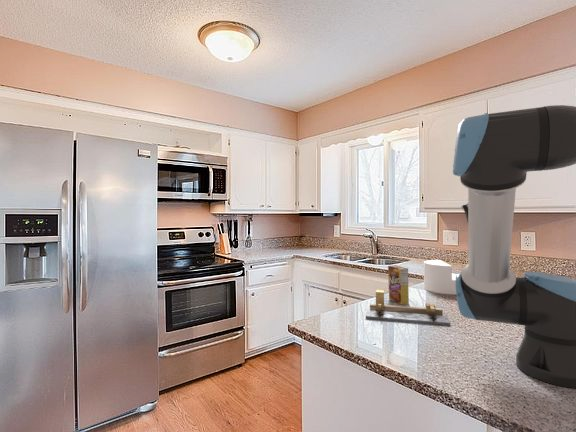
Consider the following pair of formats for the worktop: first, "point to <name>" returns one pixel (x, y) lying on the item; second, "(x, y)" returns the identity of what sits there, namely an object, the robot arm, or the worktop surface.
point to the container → (439, 277)
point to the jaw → (379, 300)
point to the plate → (408, 317)
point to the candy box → (398, 284)
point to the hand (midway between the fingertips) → (483, 255)
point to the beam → (412, 309)
